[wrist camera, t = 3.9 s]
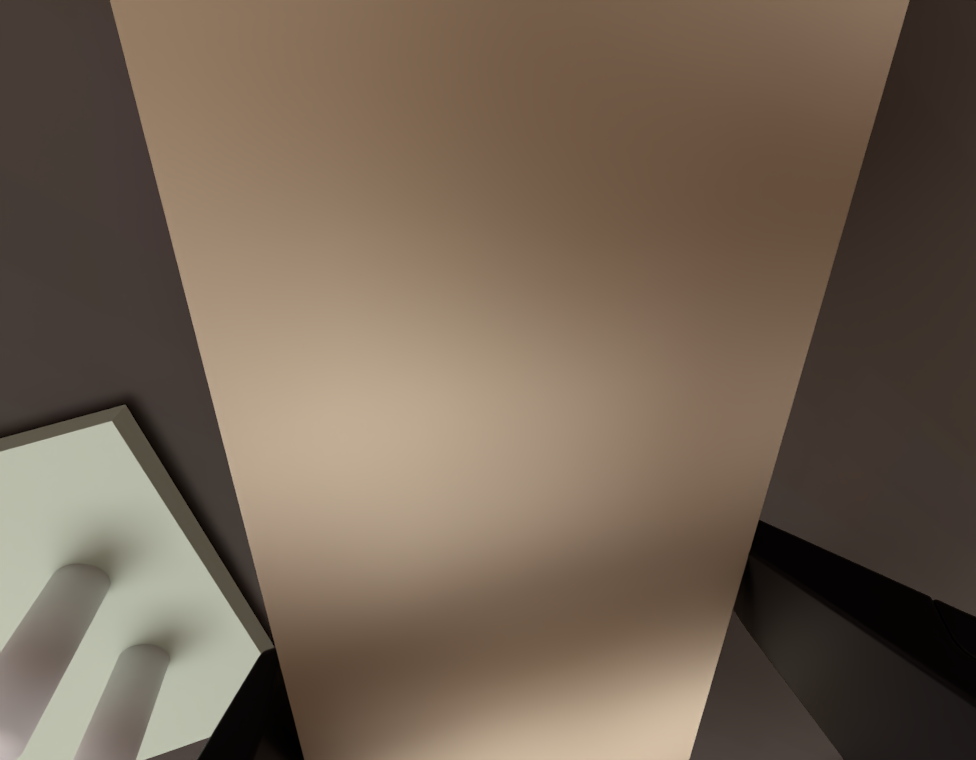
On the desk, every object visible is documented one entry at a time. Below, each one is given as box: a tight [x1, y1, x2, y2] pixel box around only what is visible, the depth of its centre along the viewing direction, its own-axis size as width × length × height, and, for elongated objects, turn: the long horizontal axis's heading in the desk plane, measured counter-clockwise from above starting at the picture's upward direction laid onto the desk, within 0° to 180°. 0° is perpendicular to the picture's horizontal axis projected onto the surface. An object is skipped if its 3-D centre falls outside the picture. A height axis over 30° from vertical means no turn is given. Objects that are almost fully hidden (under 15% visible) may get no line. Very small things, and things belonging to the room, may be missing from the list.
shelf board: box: [110, 0, 909, 760], centre depth 9 cm, size 18×7×3 cm, turn 0°
